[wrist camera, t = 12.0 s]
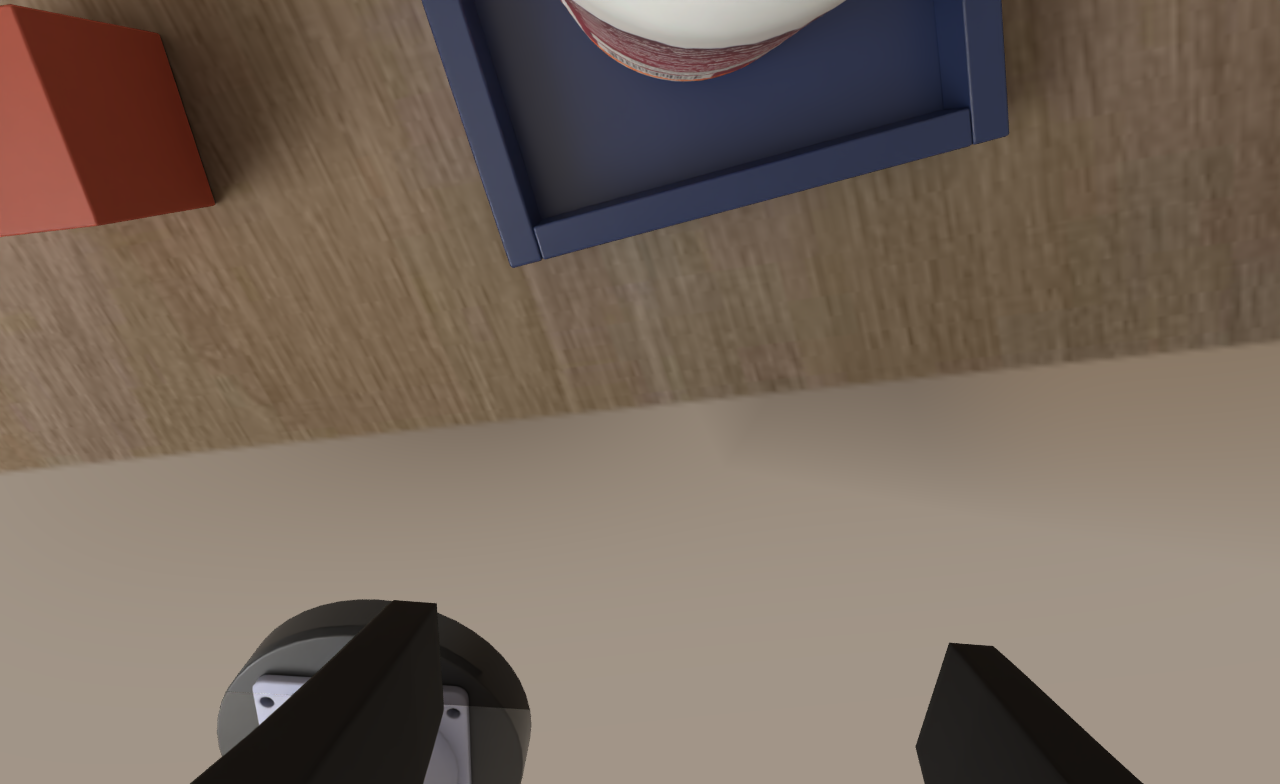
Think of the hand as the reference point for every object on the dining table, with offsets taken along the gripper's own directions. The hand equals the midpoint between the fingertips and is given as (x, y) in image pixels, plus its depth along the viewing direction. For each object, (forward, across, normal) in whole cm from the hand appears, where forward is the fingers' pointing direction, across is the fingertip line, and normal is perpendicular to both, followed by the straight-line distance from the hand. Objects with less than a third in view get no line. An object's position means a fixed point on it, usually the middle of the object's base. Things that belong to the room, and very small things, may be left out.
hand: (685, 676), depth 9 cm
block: (+10, +15, -6) cm, 19 cm away
